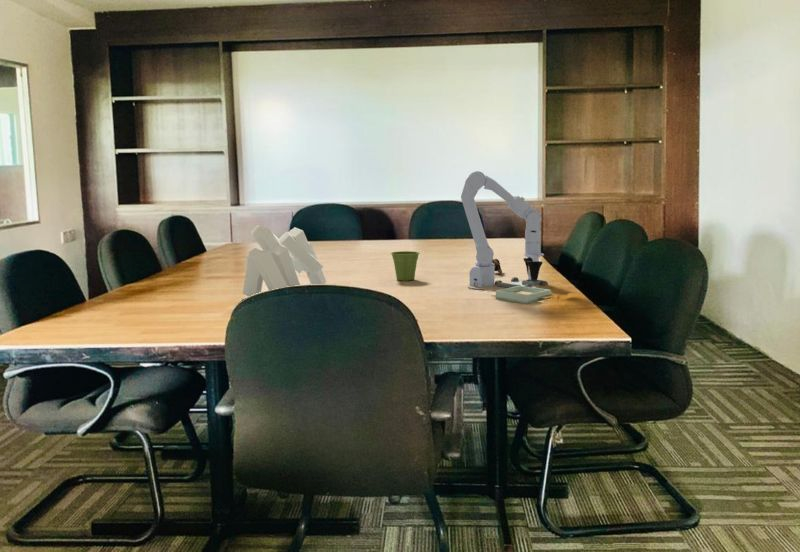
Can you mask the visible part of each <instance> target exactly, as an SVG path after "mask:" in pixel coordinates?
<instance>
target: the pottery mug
mask: <svg viewBox="0 0 800 552" xmlns="http://www.w3.org/2000/svg"><path fill="white" fill-rule="evenodd" d="M492 262H493V263H494V264H495V265H494V272H497V273H498V275H499V276H501V275H502V274H503V270H502V267H501V263H500V260H499V259H498V258H495V259H494V258H493V260H492Z"/></svg>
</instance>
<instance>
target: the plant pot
mask: <svg viewBox="0 0 800 552" xmlns="http://www.w3.org/2000/svg"><path fill="white" fill-rule="evenodd" d="M419 254H420V251H412V250H411V251H410V250H409V251H408V250H406V251H405V250H404V251H392V252H391V253H390V255H391V256H392V260H393V264H394V271H395V276H396V280H397V281H402V282H404V281H405V282H409V281H414V280H415V276H416V269H417V263H418V260H419Z"/></svg>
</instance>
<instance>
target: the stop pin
mask: <svg viewBox="0 0 800 552" xmlns="http://www.w3.org/2000/svg"><path fill="white" fill-rule="evenodd" d="M527 280H528V281H531V282H535V281H537V280H538V279H537V280H531V276H530V269H529V266H528V274H527Z"/></svg>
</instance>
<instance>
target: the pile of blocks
mask: <svg viewBox="0 0 800 552" xmlns="http://www.w3.org/2000/svg"><path fill="white" fill-rule="evenodd" d="M249 233H250V235H251V236H252V237H253V238H254V239H255V241H256V242H257V243H258V245H259V247H260V248H261V249H260V248H257V247H253V248H252V249H251V250H249V251H248V255H247V257H246V258H245V259H244V262H243V263H244V264H245V265H246V270H245V277H244V282H243V287H242V295H244V296H246V297H249V296H251V295H253V294H256V293H259V292H261V293H262V288H263V282H264V284H265V285H266V287H267V289H268V291H269V290H272V289H276V288H282V287H287V286H295V285H300V286H301V283H300V281H299V278H298V275H297V273H298V274H301V273H302V272H305V273H306V276H307V278H308V280H309V283H310V285H311V284H325V285H326V283H327V279H326V276H325V275H324V273H323V272H324V271H323V268H324V266H323V264H321V262H320V261H319V260H318V258H317V255H316V252H315V250H314V247H313V245H312V243H311V241H308V239H307V236H306V234H305V232H304V230H303V229H300V228H298V227H293V228H292V229H290V230H289V231H285V232H284V233H283V234H282V235H281V236H280V237H279V236H277V235H275V234H274V233H273V231H272V230H271V229H270V228H267V227H263V226H260V225H259V224H257V225H256V226H254V228H252V229H251V230H250V232H249ZM278 237H279V238H278Z"/></svg>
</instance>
